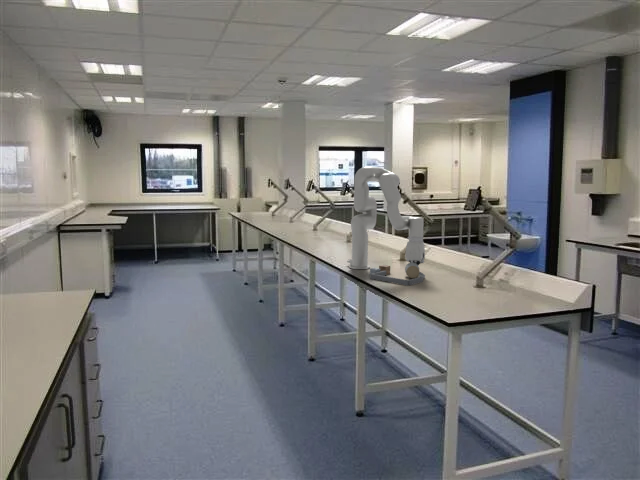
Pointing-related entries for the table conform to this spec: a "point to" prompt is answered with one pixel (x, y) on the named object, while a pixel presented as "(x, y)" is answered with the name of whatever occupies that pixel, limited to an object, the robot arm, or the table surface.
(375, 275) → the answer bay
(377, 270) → the slate block
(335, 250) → the table surface
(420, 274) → the ceramic mug
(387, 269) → the walnut block
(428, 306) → the table surface
